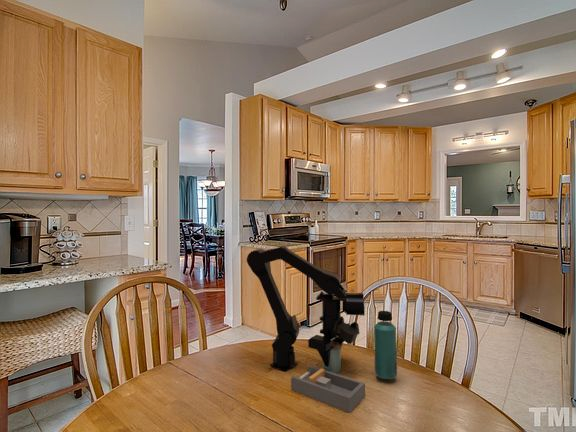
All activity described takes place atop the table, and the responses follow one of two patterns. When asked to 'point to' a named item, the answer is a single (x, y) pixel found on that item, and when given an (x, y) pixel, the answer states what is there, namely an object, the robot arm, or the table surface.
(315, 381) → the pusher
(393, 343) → the beverage bottle
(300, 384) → the gray rectangular tray
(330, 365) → the jar
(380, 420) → the table surface
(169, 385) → the table surface
